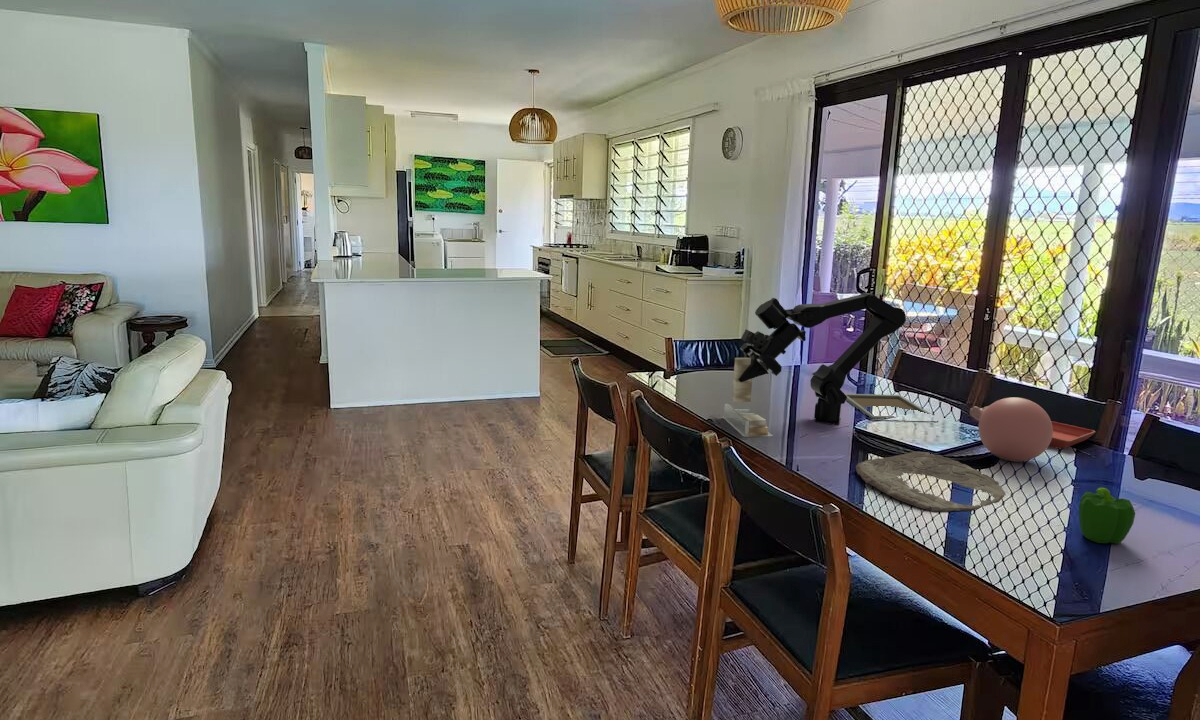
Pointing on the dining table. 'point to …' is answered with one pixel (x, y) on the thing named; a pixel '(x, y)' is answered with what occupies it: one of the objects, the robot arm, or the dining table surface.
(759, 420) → the offcut pile
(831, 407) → the robot arm
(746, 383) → the beige wooden block
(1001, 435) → the balloon
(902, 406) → the picture frame
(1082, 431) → the plant saucer
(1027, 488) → the dining table surface
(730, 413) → the offcut rack
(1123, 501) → the bell pepper
